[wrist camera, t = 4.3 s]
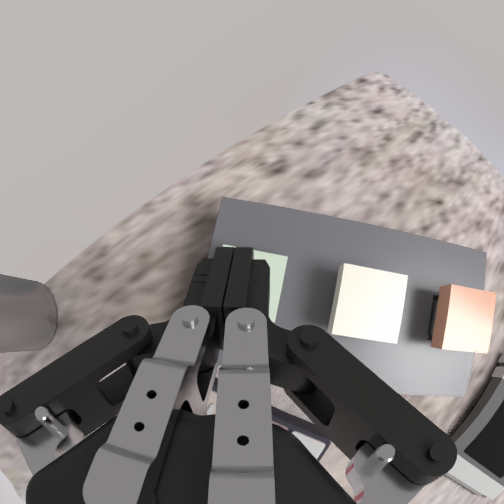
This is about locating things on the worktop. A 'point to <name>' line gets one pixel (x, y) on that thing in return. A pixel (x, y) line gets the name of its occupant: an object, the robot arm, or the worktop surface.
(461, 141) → the worktop surface
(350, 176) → the worktop surface
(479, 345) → the terracotta key
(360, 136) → the worktop surface
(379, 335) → the cream key
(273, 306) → the sage key
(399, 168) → the worktop surface
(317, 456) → the calculator
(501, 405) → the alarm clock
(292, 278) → the key console
